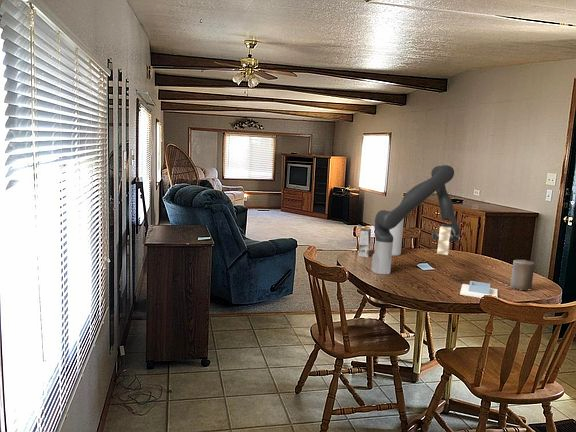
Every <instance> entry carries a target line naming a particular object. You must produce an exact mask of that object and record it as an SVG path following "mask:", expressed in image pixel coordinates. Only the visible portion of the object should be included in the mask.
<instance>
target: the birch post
mask: <svg viewBox="0 0 576 432" xmlns="http://www.w3.org/2000/svg"><path fill="white" fill-rule="evenodd" d="M438 233H439V241H437V250H436V254H437V255H445V256H448V255H449V252H450V243H451V242H449V238H450V235H451V227H442V225H441V226H440V227H439V232H438Z"/></svg>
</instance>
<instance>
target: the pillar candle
mask: <svg viewBox="0 0 576 432" xmlns="http://www.w3.org/2000/svg"><path fill="white" fill-rule="evenodd" d="M534 271H535V262H533V261H531V260H526V259H514V260H513V262H512V270H511V279H510V284H509V285H510V286H511V287H512V288H511V287H510V286H509V287H510V288H511V289H513V288H516V289H515V290H517V289H522V290H528V289H531V290H532V288H533V287H532V286H533V281H534V280H533V279H534ZM522 290H521V291H522Z"/></svg>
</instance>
